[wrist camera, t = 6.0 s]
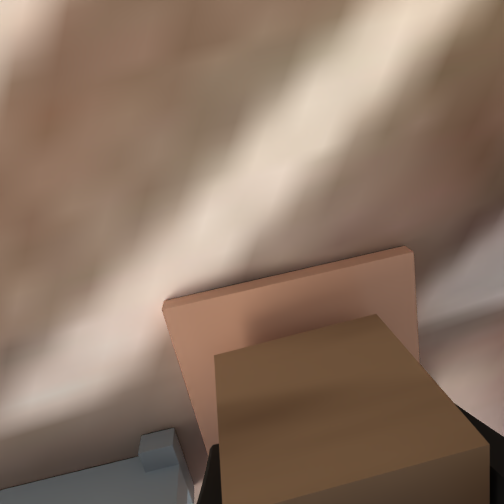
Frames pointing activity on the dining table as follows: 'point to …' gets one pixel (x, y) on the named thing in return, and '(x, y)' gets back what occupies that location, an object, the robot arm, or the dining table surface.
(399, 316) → the coaster
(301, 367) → the brown cube
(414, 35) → the dining table surface
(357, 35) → the dining table surface
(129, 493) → the grey block with tabs
